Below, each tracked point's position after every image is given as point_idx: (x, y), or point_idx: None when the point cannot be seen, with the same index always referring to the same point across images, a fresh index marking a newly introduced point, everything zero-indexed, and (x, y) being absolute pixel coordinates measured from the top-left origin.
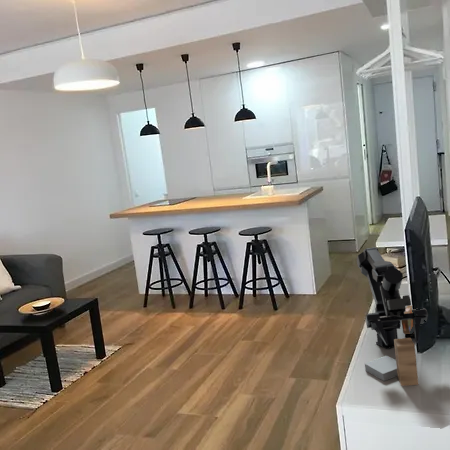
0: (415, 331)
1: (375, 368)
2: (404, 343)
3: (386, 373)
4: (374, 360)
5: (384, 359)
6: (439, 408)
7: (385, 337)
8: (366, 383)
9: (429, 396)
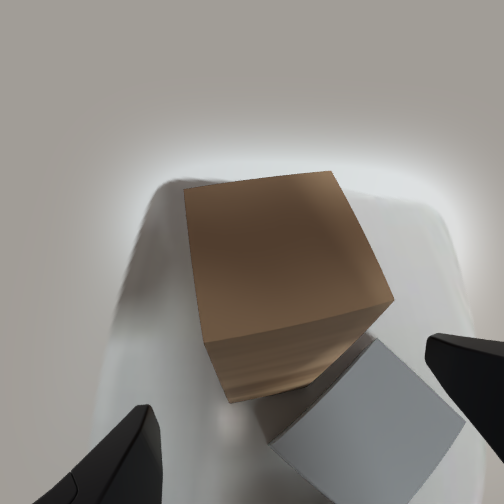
0: (119, 467)
1: (418, 385)
2: (274, 206)
3: (363, 353)
4: (432, 466)
5: (387, 490)
6: (168, 193)
7: (474, 345)
8: (421, 324)
9: (184, 249)
